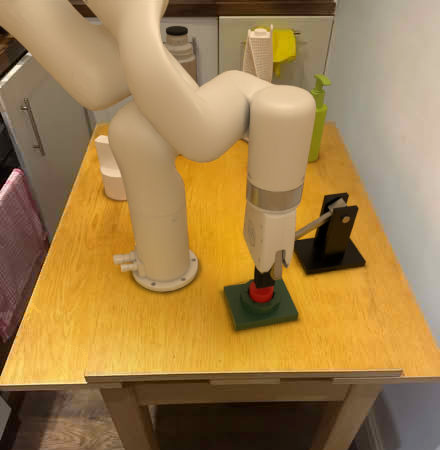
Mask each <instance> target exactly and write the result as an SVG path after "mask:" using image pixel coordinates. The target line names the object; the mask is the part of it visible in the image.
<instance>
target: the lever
mask: <svg viewBox="0 0 440 450" xmlns="http://www.w3.org/2000/svg"><path fill="white" fill-rule="evenodd" d="M346 206H348V205H347V204H346V203H345V202H344V200H343V199H342V198H341V199H339V200H337V201H336V202H334V203H333V204H331V205H329V206H328V208H329V210H330V211H329V212H327V213H326V214H324V215H322V216H321V217H317V218H315V219H314V220H312V221H311V222H309V223H308V224H306V225H304V226H303V227H301V228H299V229H297V230H295V240H294V244H295V241H296V240H300V239H302V238H303V237H305V236H306V235H308V234H309V233H311V232H313V231H314V230H316V229H317V228H318V227H319V226H321V225H322V224H324V223H326V222H327V221H329V220H330V219H331V215H332V212H333V208H338V207H346Z"/></svg>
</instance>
